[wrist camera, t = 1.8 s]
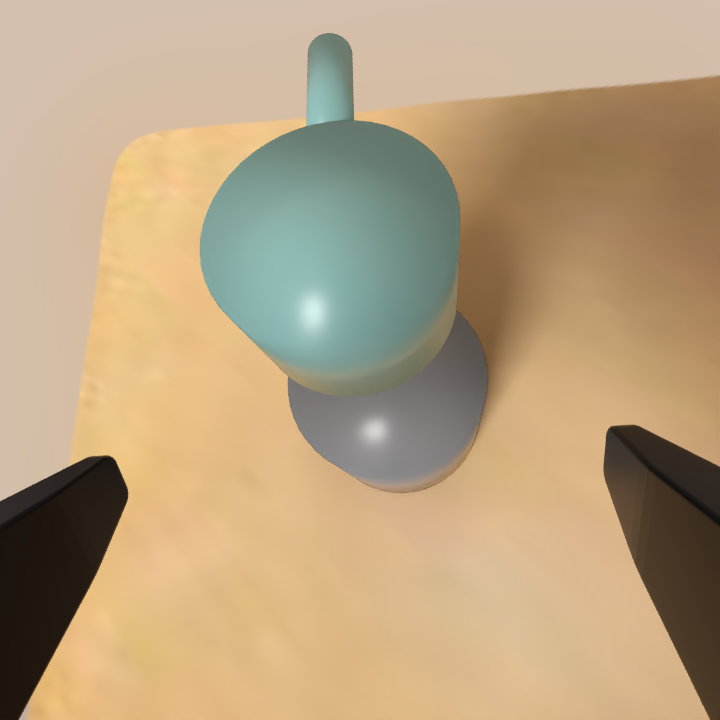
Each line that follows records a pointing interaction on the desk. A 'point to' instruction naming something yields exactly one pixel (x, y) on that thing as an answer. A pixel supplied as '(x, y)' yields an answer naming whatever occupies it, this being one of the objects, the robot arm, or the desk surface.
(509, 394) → the desk surface
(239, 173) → the pump head
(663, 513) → the robot arm
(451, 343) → the grey rounded lump
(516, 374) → the desk surface
